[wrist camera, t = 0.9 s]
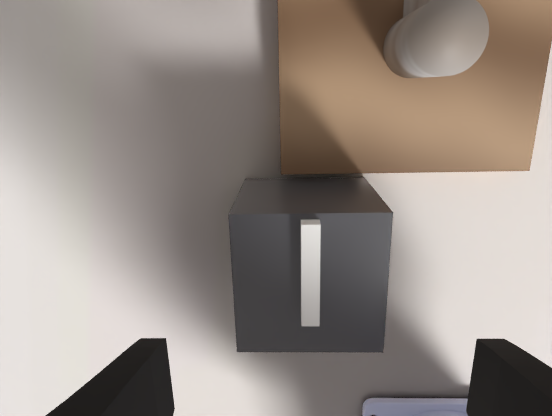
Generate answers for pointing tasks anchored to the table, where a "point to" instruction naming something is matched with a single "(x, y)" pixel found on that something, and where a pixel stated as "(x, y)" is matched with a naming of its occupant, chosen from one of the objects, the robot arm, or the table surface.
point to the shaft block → (410, 84)
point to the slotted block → (310, 265)
